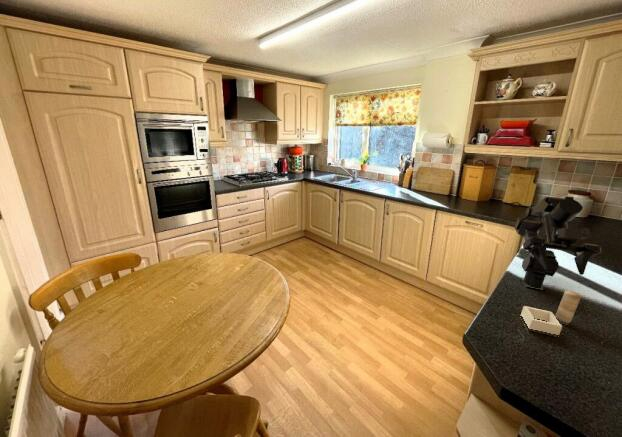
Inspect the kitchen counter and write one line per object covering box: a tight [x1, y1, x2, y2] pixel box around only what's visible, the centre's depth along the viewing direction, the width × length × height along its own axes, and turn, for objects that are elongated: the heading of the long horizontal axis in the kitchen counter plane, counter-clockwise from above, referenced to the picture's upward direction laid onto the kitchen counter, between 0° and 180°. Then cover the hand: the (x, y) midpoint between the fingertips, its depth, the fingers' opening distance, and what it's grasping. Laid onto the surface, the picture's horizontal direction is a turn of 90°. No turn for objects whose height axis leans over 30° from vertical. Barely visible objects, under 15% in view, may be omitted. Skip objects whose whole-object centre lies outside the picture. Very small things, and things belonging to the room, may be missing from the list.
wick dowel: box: [554, 290, 582, 324], centre depth 81 cm, size 4×4×10 cm
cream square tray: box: [520, 305, 563, 336], centre depth 79 cm, size 7×7×4 cm
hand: (563, 271), depth 84 cm, fingers open, 9 cm apart
